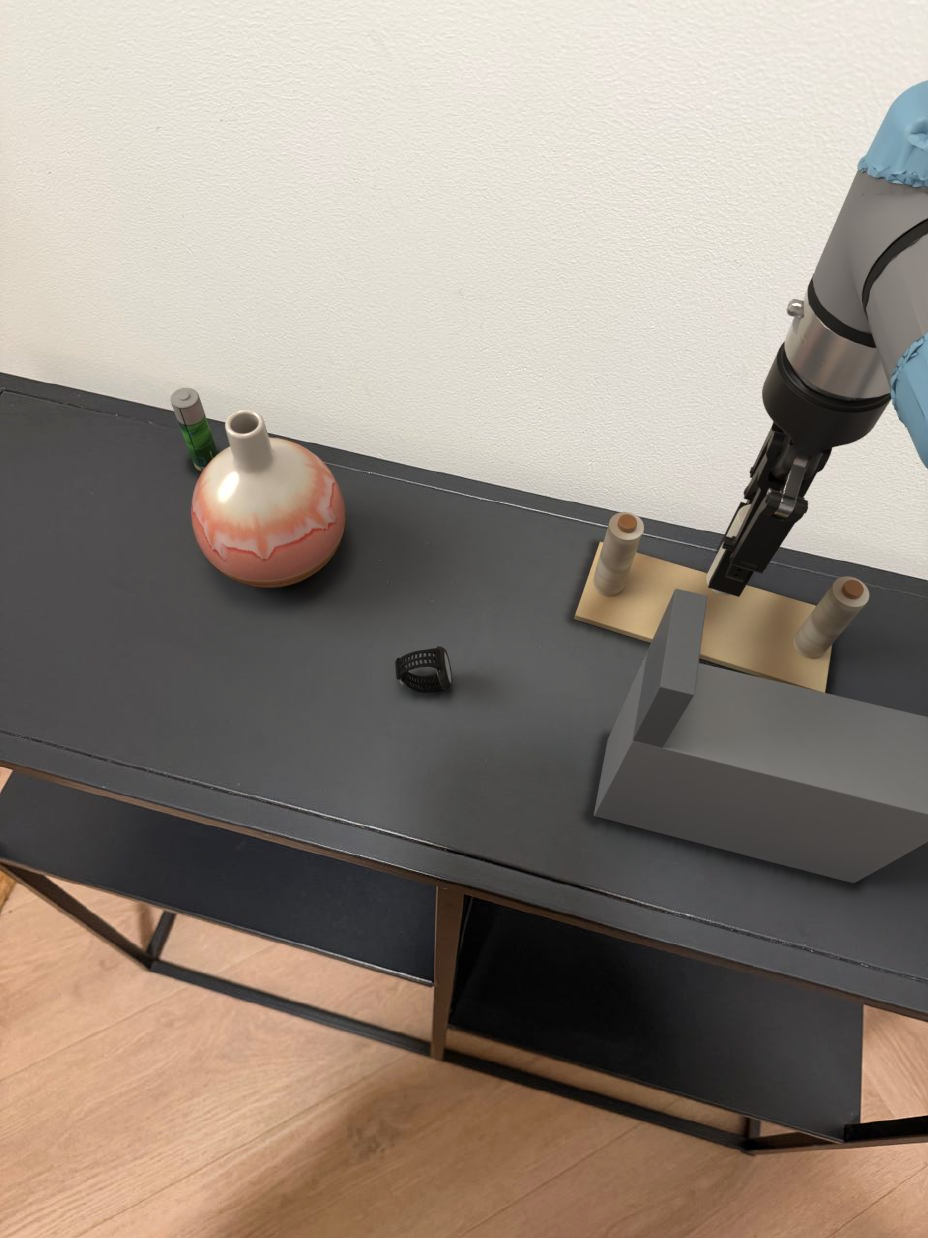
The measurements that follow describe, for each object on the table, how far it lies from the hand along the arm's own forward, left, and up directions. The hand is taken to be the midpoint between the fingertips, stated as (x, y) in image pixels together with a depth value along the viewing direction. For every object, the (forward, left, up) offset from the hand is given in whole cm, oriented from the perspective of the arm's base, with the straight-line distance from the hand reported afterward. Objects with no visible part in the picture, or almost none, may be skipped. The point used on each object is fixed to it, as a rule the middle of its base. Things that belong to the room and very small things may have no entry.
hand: (728, 571), depth 72 cm
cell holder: (0, 0, -8) cm, 8 cm away
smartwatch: (+14, +23, -8) cm, 28 cm away
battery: (+48, +21, -8) cm, 53 cm away
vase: (+34, +23, -8) cm, 42 cm away
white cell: (0, 0, -2) cm, 2 cm away
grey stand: (-12, +14, -8) cm, 20 cm away
